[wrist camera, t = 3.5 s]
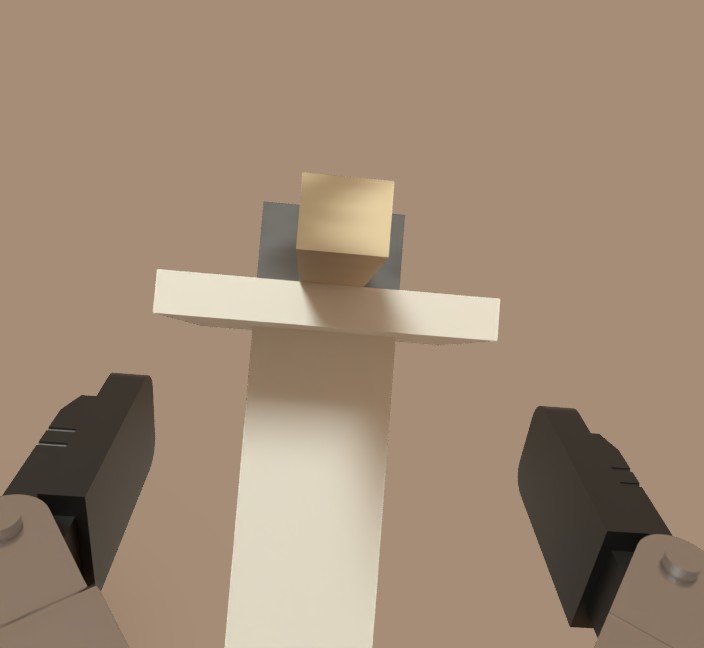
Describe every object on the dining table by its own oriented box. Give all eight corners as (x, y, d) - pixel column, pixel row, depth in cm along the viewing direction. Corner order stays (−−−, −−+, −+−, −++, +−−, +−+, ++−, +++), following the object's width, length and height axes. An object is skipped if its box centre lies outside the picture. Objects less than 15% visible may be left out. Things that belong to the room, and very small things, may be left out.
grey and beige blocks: (217, 241, 20) (231, 88, 20) (263, 299, 41) (270, 223, 41) (464, 264, 20) (475, 114, 21) (385, 309, 41) (390, 234, 42)
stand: (86, 1008, 27) (157, 269, 29) (157, 796, 40) (203, 295, 42) (452, 1011, 28) (500, 298, 30) (406, 803, 41) (441, 315, 43)
